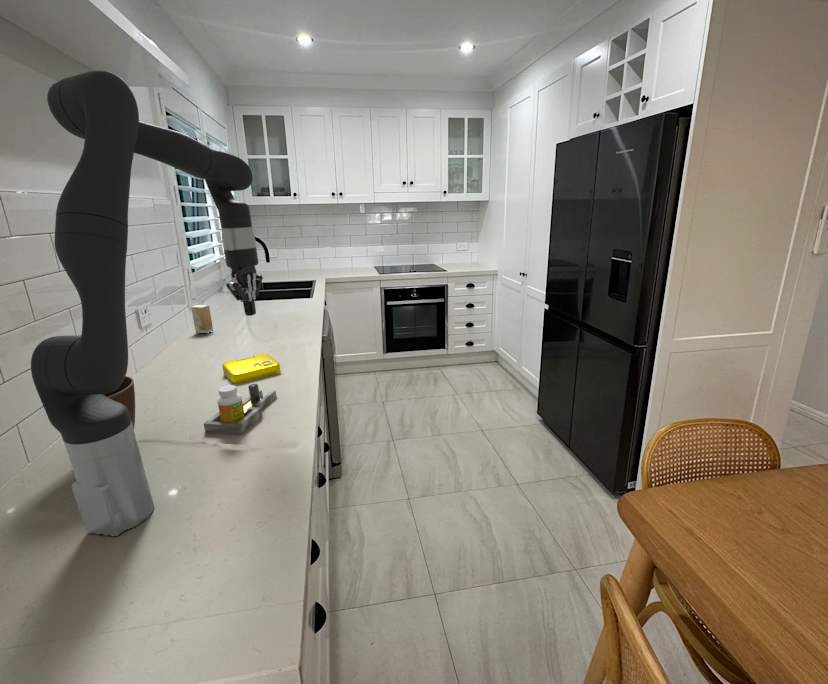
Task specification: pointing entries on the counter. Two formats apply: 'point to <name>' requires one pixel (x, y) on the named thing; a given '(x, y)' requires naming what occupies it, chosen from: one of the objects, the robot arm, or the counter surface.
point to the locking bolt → (252, 397)
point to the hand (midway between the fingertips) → (250, 314)
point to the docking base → (239, 428)
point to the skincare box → (202, 318)
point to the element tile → (251, 368)
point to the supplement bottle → (230, 404)
